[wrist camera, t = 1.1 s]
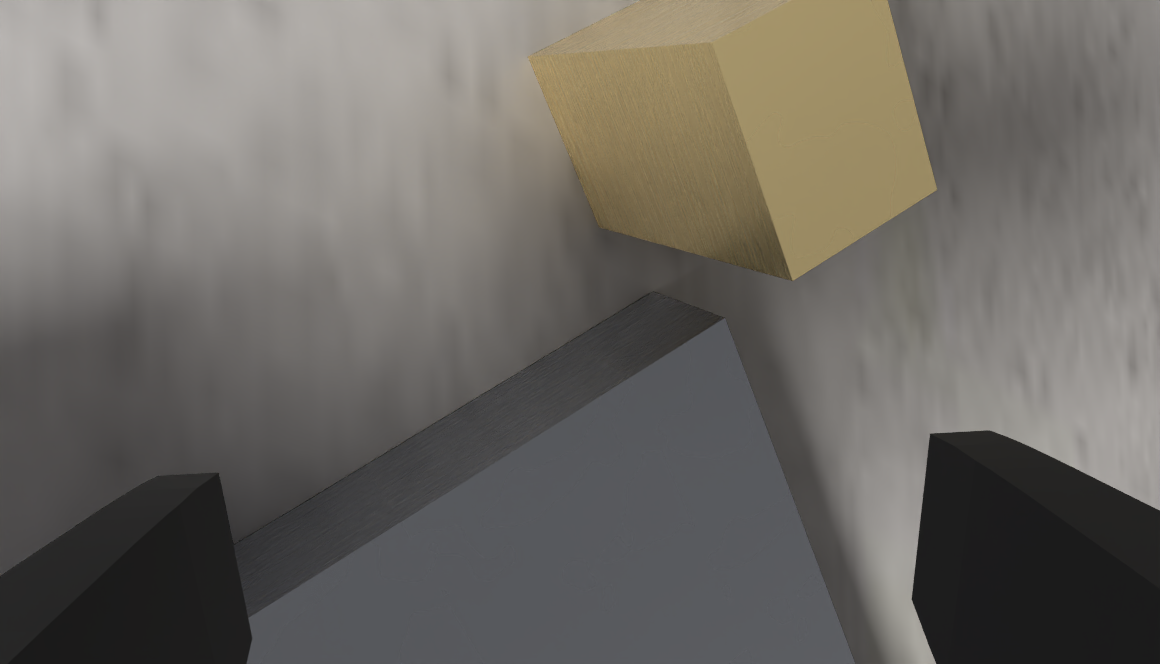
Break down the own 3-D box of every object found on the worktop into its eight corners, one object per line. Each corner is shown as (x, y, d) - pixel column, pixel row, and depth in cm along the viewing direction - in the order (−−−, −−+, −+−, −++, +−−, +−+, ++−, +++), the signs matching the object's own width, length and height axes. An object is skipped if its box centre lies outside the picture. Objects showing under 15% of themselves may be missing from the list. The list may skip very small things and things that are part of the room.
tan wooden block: (598, 227, 22) (792, 280, 16) (527, 56, 20) (711, 42, 14) (712, 162, 23) (937, 189, 17) (652, -6, 21) (876, -44, 15)
